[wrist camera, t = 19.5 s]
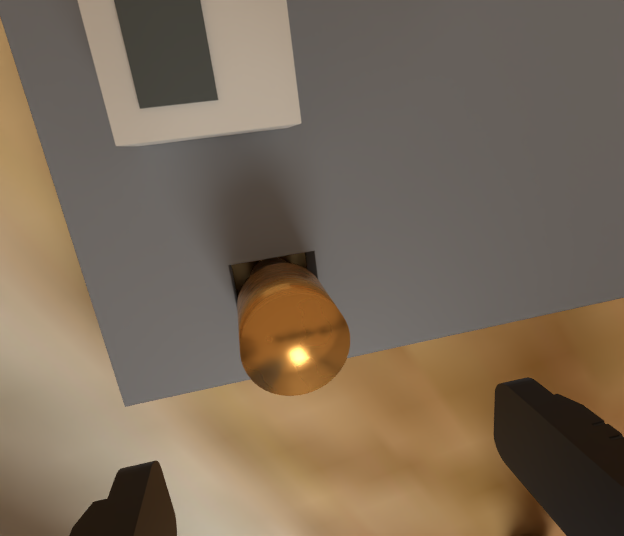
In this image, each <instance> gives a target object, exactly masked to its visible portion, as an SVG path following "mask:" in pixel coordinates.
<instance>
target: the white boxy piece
mask: <svg viewBox="0 0 624 536" xmlns="http://www.w3.org/2000/svg"><path fill="white" fill-rule="evenodd" d="M77 1H78V5H79V8H80V12H81V16H82V20H83V24H84V27H85V31H86V35H87V39H88V42H89V46H90V50H91V54H92V58H93V61H94V65H95V69H96V73H97V77H98V80H99V84H100V88H101V92H102V96H103V99H104V103H105V107H106V111H107V114H108V118H109V122H110V126H111V130H112V133H113V137H114V141H115V145H116V146H145V145H154V144H162V143H170V142H178V141H186V140H194V139H202V138H210V137H218V136H226V135H234V134H242V133H250V132H258V131H267V130H275V129H283V128H289V127H292V126H295V125H298V124H301V115H300V107H299V98H298V90H297V82H296V74H295V66H294V58H293V49H292V41H291V33H290V25H289V17H288V8H287V0H77Z"/></svg>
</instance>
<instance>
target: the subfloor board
mask: <svg viewBox="0 0 624 536" xmlns="http://www.w3.org/2000/svg"><path fill="white" fill-rule="evenodd" d="M287 8H288V17H289V25H290V33H291V41H292V49H293V58H294V66H295V74H296V82H297V90H298V98H299V107H300V115H301V124H298V125H295V126H292V127H289V128H283V129H275V130H267V131H258V132H250V133H242V134H234V135H226V136H218V137H210V138H202V139H194V140H186V141H178V142H170V143H162V144H154V145H145V146H116V145H115V141H114V137H113V133H112V130H111V126H110V122H109V118H108V114H107V111H106V107H105V103H104V99H103V96H102V92H101V88H100V84H99V80H98V77H97V73H96V69H95V65H94V61H93V58H92V54H91V50H90V46H89V42H88V39H87V35H86V31H85V27H84V24H83V20H82V16H81V12H80V8H79V5H78V1H77V0H0V17H1V20H2V23H3V26H4V29H5V33H6V36H7V39H8V42H9V45H10V48H11V51H12V54H13V58H14V61H15V64H16V67H17V70H18V73H19V76H20V79H21V83H22V86H23V89H24V92H25V95H26V98H27V101H28V104H29V108H30V111H31V114H32V117H33V120H34V123H35V126H36V129H37V133H38V136H39V139H40V142H41V145H42V148H43V151H44V154H45V158H46V161H47V164H48V167H49V170H50V173H51V176H52V180H53V183H54V186H55V189H56V192H57V195H58V198H59V201H60V205H61V208H62V211H63V214H64V217H65V220H66V223H67V226H68V230H69V233H70V236H71V239H72V242H73V245H74V248H75V251H76V255H77V258H78V261H79V264H80V267H81V270H82V273H83V276H84V280H85V283H86V286H87V289H88V292H89V295H90V298H91V302H92V305H93V308H94V311H95V314H96V317H97V320H98V323H99V327H100V330H101V333H102V336H103V339H104V342H105V345H106V348H107V352H108V355H109V358H110V361H111V364H112V367H113V370H114V373H115V377H116V380H117V383H118V386H119V389H120V392H121V395H122V398H123V402H124V405H125V407H126V406H130V405H135V404H140V403H144V402H149V401H153V400H158V399H162V398H167V397H172V396H176V395H181V394H185V393H190V392H194V391H199V390H204V389H208V388H213V387H217V386H222V385H226V384H231V383H236V382H240V381H245V380H249V379H250V377H249V376H248V375H247V373H246V371H245V369H244V368H243V365H242V362H241V357H240V345H239V330H238V314H237V301H238V297H237V292H236V287H235V281H234V276H233V271H232V266H231V265H234V264H240V263H246V262H251V261H257V260H263V259H269V258H274V257H280V256H286V255H292V254H297V253H303V252H305V255H306V263H307V270H309V271H310V272H311V273H312V274H314V275H315V276H316V278H317V279H318V280H319V282H320V283H321V285H322V286H323V287H324V289H325V290H326V292H327V293H328V295H329V296H330V298H331V299H332V301H333V302H334V303H335V305H336V306H337V308H338V309H339V311H340V312H341V314H342V315H343V317H344V319H345V320H346V322H347V325H348V328H349V332H350V349H349V353H348V356H347V358H350V357H354V356H359V355H364V354H368V353H373V352H377V351H382V350H386V349H391V348H396V347H400V346H405V345H409V344H414V343H418V342H423V341H428V340H432V339H437V338H441V337H446V336H450V335H455V334H460V333H464V332H469V331H473V330H478V329H482V328H487V327H492V326H496V325H501V324H505V323H510V322H514V321H519V320H524V319H528V318H533V317H537V316H542V315H546V314H551V313H556V312H560V311H565V310H569V309H574V308H578V307H583V306H588V305H592V304H597V303H601V302H606V301H610V300H615V299H620V298H624V0H287Z"/></svg>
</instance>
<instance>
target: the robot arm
mask: <svg viewBox="0 0 624 536" xmlns="http://www.w3.org/2000/svg"><path fill="white" fill-rule="evenodd" d="M494 440H495V444H496V447H497V450H498V452H499V454H500V456H501V458H502V460H503V461H504V462H505V464H506V465H507V466H508V467H509V468H510V470H511V471H512V472H513V473H514V474H515V476H516V477H517V478H518V479H519V480H520V481H521V483H522V484H523V485H524V486H525V487H526V488H527V490H528V491H529V492H530V493H531V494H532V495H533V497H534V498H535V499H536V500H537V501H538V503H539V504H540V505H541V506H542V507H543V508H544V510H545V511H546V512H547V513H548V514H549V515H550V517H551V518H552V519H553V520H554V521H555V522H556V524H557V525H558V526H559V527H560V528H561V530H562V531H563V532H564V533H565V534H566V535H567V536H624V437H623V436H622V434H621V433H620V432H619V431H617V430H616V429H614V428H613V427H612V426H610V425H609V424H605V423H604V420H602V419H601V418H600V417H598V416H597V415H596V414H594V413H593V412H592V411H590V410H589V409H588V408H586V407H585V406H584V405H582V404H579V403H577V402H575V401H573V400H570V399H568V398H566V397H564V396H561V395H559V394H555V395H553V394H552V393H551V392H549V391H548V390H547V389H546V388H544V387H543V386H542V385H540V384H539V383H538V382H537V381H535V380H534V379H532V378H523V379H518V380H514V381H510V382H505V383H501V384H498V385H497V387H496V389H495V409H494ZM69 536H177V526H176V517H175V513H174V509H173V506H172V502H171V499H170V496H169V492H168V489H167V486H166V482H165V479H164V476H163V472H162V469H161V466H160V464H159V462H158V461H152V462H148V463H143V464H139V465H135V466H130V467H126V468H122V469H120V470H119V471H118V472H117V474H116V477H115V480H114V482H113V485H112V488H111V491H110V493H109V496H108V499H104V500H100V501H95V502H93V503H92V504H91V506H90V507H89V508H88V509H87V510H86V512H85V513H84V514H83V515H82V517H81V518H80V519H79V520H78V522H77V523H76V524H75V525H74V527H73V528H72V531H71V533H70V535H69Z"/></svg>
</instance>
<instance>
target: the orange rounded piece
mask: <svg viewBox="0 0 624 536" xmlns="http://www.w3.org/2000/svg"><path fill="white" fill-rule="evenodd" d="M237 314H238V330H239V345H240V357H241V362H242V365H243V368H244V369H245V371H246V373H247V375H248V376H249V377H250V379H251V380H252V381H253V382H254V383H255V384H257V385H258V386H259V387H261V388H263V389H264V390H266V391H269V392H271V393H274V394H278V395H285V396H294V395H302V394H306V393H309V392H312V391H315V390H317V389H319V388H321V387H322V386H324V385H326V384H327V383H328V382H329V381H331V380H332V379H333V378H334V377H335V376H336V375H337V374H338V372H339V371H340V370H341V368H342V367H343V365H344V363H345V361H346V359H347V356H348V353H349V349H350V332H349V328H348V325H347V322H346V320H345V319H344V317H343V315H342V314H341V312H340V311H339V309H338V308H337V306H336V305H335V303H334V302H333V301H332V299H331V298H330V296H329V295H328V293H327V292H326V290H325V289H324V287H323V286H322V285H321V283H320V282H319V280H318V279H317V278H316V276H315V275H314V274H312V273H311V272H310V271H309V270H307V269H306V268H304V267H302V266H299V265H296V264H292V263H288V262H287V261H285V260H284V259H282V258H278V257H274V258H269V259H263V260H261V261H259V262H258V263H257V264H256V265H255V266H254V268H253V269H252V272H251V276H250V277H249V278H248V279H247V281H246V282H245V283H244V285H243V287H242V288H241V291H240V293H239V296H238V301H237Z"/></svg>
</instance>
